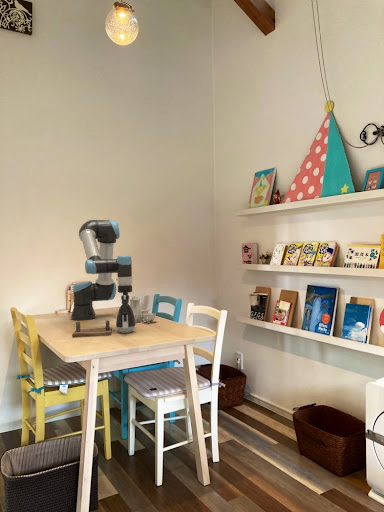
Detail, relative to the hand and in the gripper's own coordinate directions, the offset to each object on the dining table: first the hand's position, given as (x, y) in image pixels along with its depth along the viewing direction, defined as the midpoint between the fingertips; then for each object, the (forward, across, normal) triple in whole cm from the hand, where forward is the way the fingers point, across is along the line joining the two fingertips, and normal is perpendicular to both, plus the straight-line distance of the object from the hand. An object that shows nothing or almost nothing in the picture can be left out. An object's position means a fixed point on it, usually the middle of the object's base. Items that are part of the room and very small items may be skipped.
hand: (125, 325), depth 211 cm
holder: (+4, 0, -17) cm, 17 cm away
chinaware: (+4, -33, +7) cm, 34 cm away
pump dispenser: (+4, 0, 0) cm, 4 cm away
